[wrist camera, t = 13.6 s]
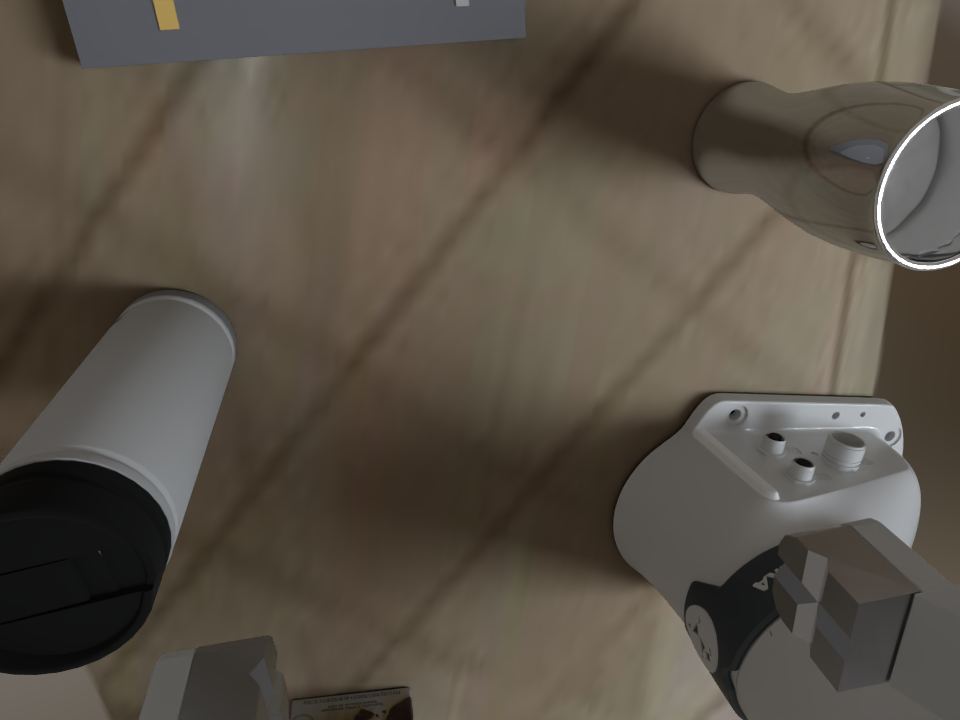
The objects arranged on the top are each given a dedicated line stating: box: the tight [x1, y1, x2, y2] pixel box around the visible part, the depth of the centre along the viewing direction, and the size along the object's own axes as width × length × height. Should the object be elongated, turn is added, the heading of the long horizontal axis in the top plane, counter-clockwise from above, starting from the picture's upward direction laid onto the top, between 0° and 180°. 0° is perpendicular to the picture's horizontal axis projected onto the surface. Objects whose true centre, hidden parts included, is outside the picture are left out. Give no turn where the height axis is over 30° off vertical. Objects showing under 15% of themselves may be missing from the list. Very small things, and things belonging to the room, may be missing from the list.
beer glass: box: [692, 81, 960, 271], centre depth 32 cm, size 7×7×15 cm
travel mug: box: [0, 290, 237, 675], centre depth 28 cm, size 6×7×20 cm
